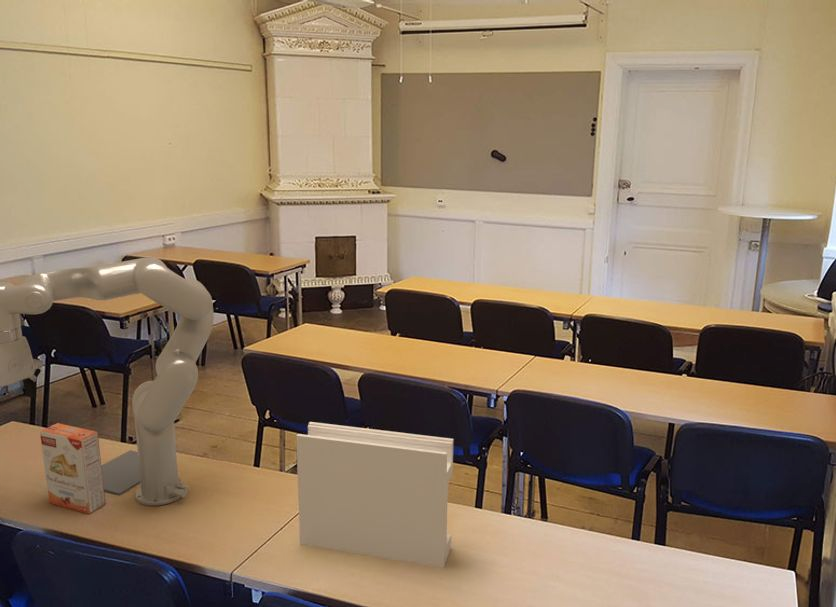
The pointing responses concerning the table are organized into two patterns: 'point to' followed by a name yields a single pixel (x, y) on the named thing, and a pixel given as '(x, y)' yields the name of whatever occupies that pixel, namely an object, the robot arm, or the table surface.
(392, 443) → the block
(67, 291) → the robot arm
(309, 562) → the table surface
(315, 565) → the table surface
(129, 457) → the mat
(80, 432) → the cracker box
